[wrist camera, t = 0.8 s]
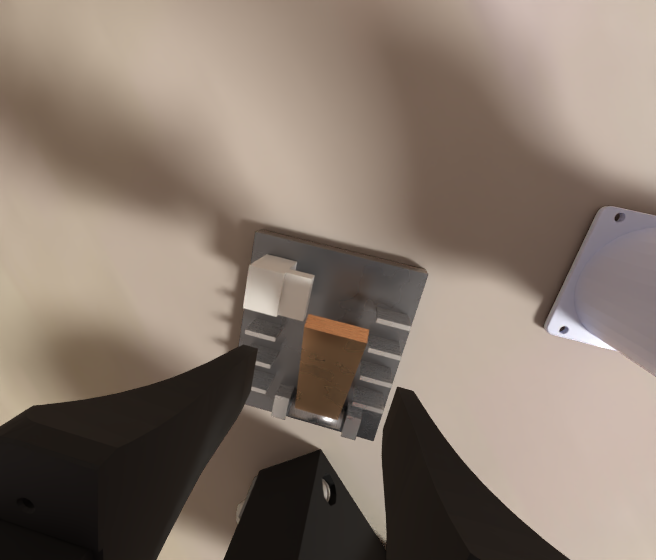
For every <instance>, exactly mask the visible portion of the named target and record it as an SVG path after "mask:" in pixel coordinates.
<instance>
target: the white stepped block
mask: <svg viewBox="0 0 656 560" xmlns="http://www.w3.org/2000/svg"><path fill="white" fill-rule="evenodd" d="M296 265H297V261H293V260H289V259H285V258H281V257H277V256H273V255H269V254H266V255H265V256H263V257H261V258H260V259H258V260H256V261H255V262H253V263H252V264H250V265H249V269H248V276H247V283H246V290H245V297H244V304H243V308H245V309H249V310H252V311H256V312H260V313H264V314H267V315H271V316H275V317H277V315H280V316H284V317H288V318H292V319H296V320H299V321H304V319H305V317H306V314H307V309H308V304H309V299H310V295H311V290H312V285H313V281H314V276H315V275H312V274H308V273H304V272H300V271H296Z"/></svg>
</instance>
